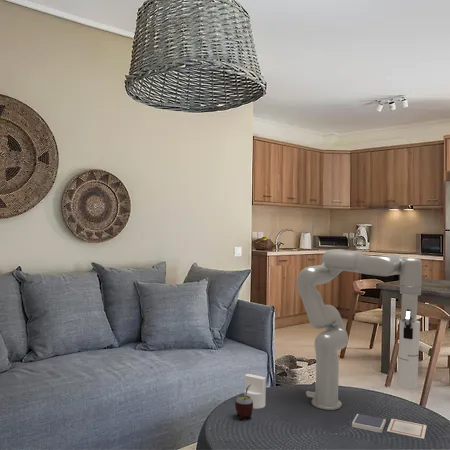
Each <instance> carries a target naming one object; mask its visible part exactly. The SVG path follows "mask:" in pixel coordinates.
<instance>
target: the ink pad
mask: <svg viewBox="0 0 450 450" xmlns="http://www.w3.org/2000/svg"><path fill="white" fill-rule="evenodd" d="M386 421H387V419H386V418H381V417H377V416H371V415H366V414H362V413H357V414H356V415H355V416H354V418H353V420H352V423H351V427H352V428H354V429H355V428H356V429H360V430H365V431H369V432H374V433H378V434H379V433H380V434H382V433H383V431H384V428H385V426H386V424H387V422H386Z"/></svg>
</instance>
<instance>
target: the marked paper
mask: <svg viewBox="0 0 450 450" xmlns="http://www.w3.org/2000/svg"><path fill="white" fill-rule="evenodd" d="M426 430H427V425H426V424H421V423H416V422H412V421H406V420H402V419H401V420H400V419H396V418H391V420H390V422H389V424H388V427H387V430H386V432H389V433H391V434H397V435H401V436H403V435H404V436H407V437H413V438H418V439H422V440H424V439H425V435H426Z"/></svg>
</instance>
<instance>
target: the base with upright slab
mask: <svg viewBox="0 0 450 450" xmlns="http://www.w3.org/2000/svg"><path fill="white" fill-rule="evenodd" d="M266 378H267V377H265V376H261V375H256V374H251V373H246V374H245V375H244V394H245V393H246V388H247V387H248V386H249V385H250V387H249V388H248V391H247V395H246V396H250V397H251V399H252V400H253V409H254V410H256V409H257V410H259V409H263V408H265V406H266V402H267V401H266V397H267V395H266V394H267V393H266V392H267V391H266V390H267V388H266V387H267V385H266V384H267V379H266Z"/></svg>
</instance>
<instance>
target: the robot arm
mask: <svg viewBox="0 0 450 450" xmlns="http://www.w3.org/2000/svg"><path fill="white" fill-rule="evenodd" d="M422 266H423V262H422V259H420V258H418V257H404V256H399V255H388V256H387V255H386V256H379V255H378V256H377V255H376V256H375V255H367V254H363V253H362V252H360V251H354V250H353V251H352V250H345V249H341V248H337V249H336V248H335V249H328V250H326V251H325V252H323V254H322V257H321V264H318V265H309V266H306V267H305V268H303V269H301V271H299V273H298V275H297V276H296V277H297V278H296V288H297V291H298V293H299V296H300V299H301V300H302V304H303V307H304V309H305V312H306V316H307V318H308V320H309V323H310V325H311V327H313V328H314V329H317V330H321V329H324V330H323V331H321V332H320V333H318V334H317V335H316V336H315V339H314V349H315V350H314V351H315V391H309V390H306V392H305V395H306V396H307V398H311V405H312V406H314V407H315V408H317V409H319V410H320V409H321V410H326V411H327V410H328V411H334V410H338V409H341V408H342V402H341V400H339V373H340V368H339V367H340V366H339V364H340V363H339V357H338V354H337V352H339V351H340V350H343V349H345V348H346V347H347V346H348V343H349V335H348V331H347V329H346V327H345V324H344V322H343V318H342V316H341V313H340V312H339V310H338V309H337V308H336V307H335V306H334V305H331V304H325V302H324V300H323V297H322V295H321V293H320V291H319V290H318V289H317V287H316V286H317V285H324V284H325V285H326V284H328V283H329V282H331V281H333V280H334V279H335V277H337V276H338V275H339V274H341V273H342V272H344V271H345V272H350V273H351V272H352V273H358V274H364V275H370V276H379V277H389V276H395V275H400V276H399V278H400V279H399V280H400V283H399V284H400V285H399V294H400V295H401V296H402V297H401V306H400V307H401V308H400V310H401V311H400V320H403V319H405V323H404V336H403V337H404V338H405V339H413V328H412V323H413V321H414V320H416V319H417V315H418V314H417V313H418V300H419V298H418V297H419V296H421V295H422V274H423V273H422V270H423V267H422ZM410 319H411V320H410ZM410 322H411V323H410Z"/></svg>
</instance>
